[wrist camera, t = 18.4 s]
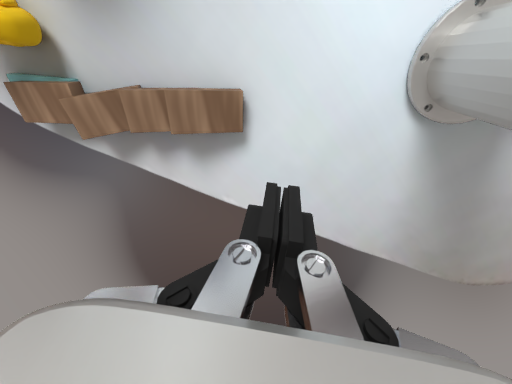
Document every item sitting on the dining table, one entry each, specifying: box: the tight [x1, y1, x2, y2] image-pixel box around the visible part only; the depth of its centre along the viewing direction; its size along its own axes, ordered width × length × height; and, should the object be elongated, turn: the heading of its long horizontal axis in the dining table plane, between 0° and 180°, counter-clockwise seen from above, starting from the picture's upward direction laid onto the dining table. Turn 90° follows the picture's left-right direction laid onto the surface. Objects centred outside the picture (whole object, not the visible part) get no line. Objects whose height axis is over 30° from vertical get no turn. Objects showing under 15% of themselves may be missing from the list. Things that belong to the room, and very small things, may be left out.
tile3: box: [59, 85, 141, 140], centre depth 29 cm, size 2×5×9 cm
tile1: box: [164, 88, 243, 134], centre depth 27 cm, size 2×5×9 cm
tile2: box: [119, 88, 171, 133], centre depth 28 cm, size 2×5×9 cm
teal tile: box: [6, 73, 78, 82], centre depth 31 cm, size 2×5×9 cm
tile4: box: [3, 81, 85, 124], centre depth 29 cm, size 2×5×9 cm
